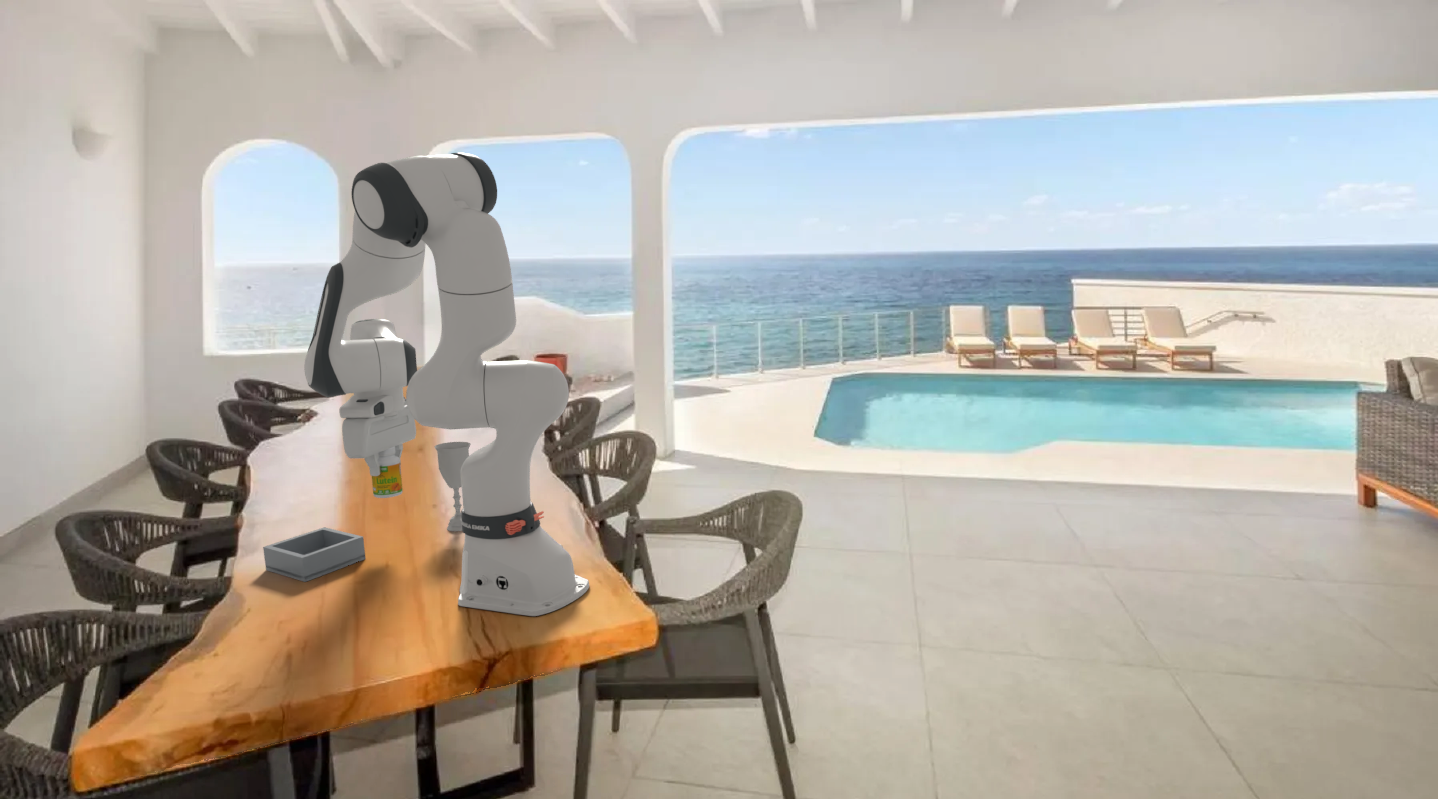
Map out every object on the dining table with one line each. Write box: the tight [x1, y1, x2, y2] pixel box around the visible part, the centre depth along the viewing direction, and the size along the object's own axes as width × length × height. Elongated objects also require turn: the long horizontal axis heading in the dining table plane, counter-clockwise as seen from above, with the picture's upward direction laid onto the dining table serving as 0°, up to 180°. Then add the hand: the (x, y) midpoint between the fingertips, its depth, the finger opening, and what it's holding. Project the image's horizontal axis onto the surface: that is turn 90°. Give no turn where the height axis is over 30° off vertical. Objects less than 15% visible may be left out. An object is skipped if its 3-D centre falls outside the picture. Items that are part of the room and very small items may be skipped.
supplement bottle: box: [371, 446, 403, 499], centre depth 149 cm, size 5×5×10 cm
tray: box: [262, 527, 366, 583], centre depth 141 cm, size 12×12×4 cm
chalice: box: [434, 441, 471, 532], centre depth 159 cm, size 7×7×18 cm
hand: (385, 471), depth 149 cm, fingers closed on supplement bottle, 5 cm apart
